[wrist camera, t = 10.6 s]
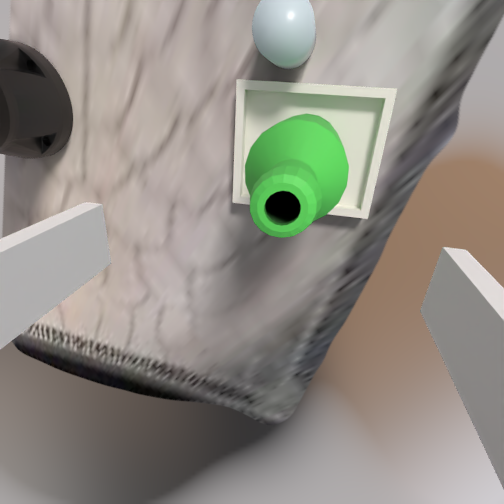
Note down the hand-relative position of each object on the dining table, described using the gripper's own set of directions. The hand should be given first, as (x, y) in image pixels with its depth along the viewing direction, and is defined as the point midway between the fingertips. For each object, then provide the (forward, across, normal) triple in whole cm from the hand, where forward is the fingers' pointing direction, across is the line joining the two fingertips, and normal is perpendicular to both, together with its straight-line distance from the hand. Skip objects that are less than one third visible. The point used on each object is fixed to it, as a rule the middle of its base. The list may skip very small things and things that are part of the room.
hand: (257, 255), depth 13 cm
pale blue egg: (+33, -3, +12) cm, 35 cm away
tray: (+33, +1, 0) cm, 33 cm away
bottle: (+32, 0, 0) cm, 32 cm away
